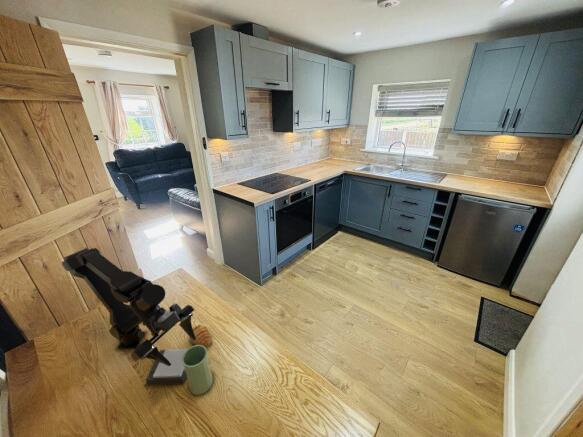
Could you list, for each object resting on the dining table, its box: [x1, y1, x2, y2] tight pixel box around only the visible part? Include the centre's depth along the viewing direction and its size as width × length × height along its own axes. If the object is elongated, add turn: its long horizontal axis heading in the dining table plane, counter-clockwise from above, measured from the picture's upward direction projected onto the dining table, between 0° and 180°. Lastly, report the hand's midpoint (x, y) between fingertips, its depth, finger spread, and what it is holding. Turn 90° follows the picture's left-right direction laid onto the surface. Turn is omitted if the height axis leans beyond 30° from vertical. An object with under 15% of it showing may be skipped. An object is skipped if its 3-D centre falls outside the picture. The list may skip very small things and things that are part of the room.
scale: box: [145, 348, 188, 386], centre depth 78 cm, size 11×10×3 cm
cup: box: [182, 345, 214, 396], centre depth 72 cm, size 7×7×13 cm
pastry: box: [188, 324, 212, 349], centre depth 87 cm, size 9×7×4 cm
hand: (183, 352), depth 71 cm, fingers open, 9 cm apart
